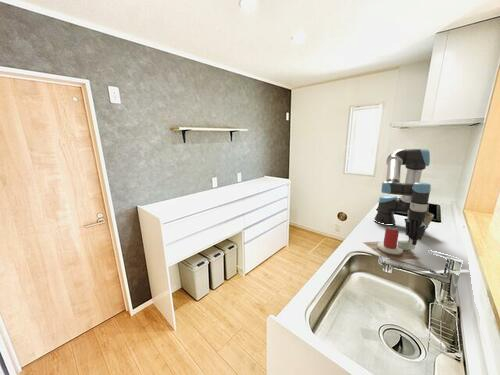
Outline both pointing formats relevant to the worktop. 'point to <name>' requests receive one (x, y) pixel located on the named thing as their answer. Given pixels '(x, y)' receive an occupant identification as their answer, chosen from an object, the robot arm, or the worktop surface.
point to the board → (395, 257)
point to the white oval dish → (398, 250)
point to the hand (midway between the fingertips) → (411, 249)
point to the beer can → (391, 237)
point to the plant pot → (426, 218)
